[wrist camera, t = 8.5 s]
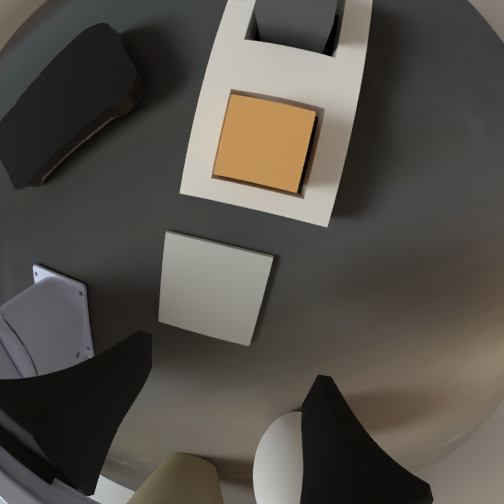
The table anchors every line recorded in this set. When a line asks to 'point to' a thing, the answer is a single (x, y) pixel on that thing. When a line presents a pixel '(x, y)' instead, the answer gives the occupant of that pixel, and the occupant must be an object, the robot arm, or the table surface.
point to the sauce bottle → (279, 462)
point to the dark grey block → (296, 22)
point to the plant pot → (181, 483)
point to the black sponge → (68, 104)
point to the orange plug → (264, 142)
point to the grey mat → (212, 287)
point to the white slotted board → (286, 92)
